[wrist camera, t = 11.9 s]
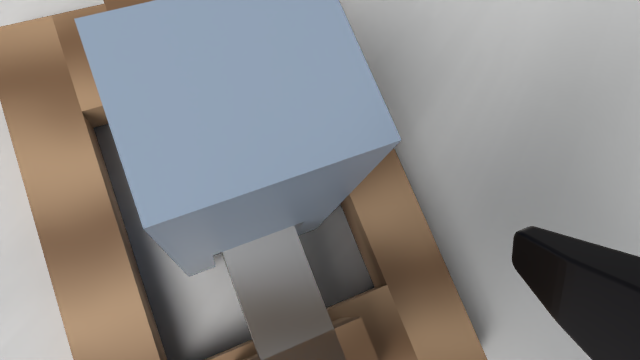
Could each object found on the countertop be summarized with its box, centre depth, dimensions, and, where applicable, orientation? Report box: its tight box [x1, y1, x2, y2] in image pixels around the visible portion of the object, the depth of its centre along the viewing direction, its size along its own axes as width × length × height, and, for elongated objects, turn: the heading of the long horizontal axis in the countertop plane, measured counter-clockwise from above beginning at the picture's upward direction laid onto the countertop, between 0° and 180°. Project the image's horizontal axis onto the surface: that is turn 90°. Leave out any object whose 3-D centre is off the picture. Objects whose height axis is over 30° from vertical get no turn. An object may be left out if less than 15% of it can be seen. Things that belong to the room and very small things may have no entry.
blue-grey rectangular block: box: [74, 0, 401, 276], centre depth 17 cm, size 6×5×12 cm
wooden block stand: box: [0, 0, 487, 360], centre depth 21 cm, size 22×16×6 cm
